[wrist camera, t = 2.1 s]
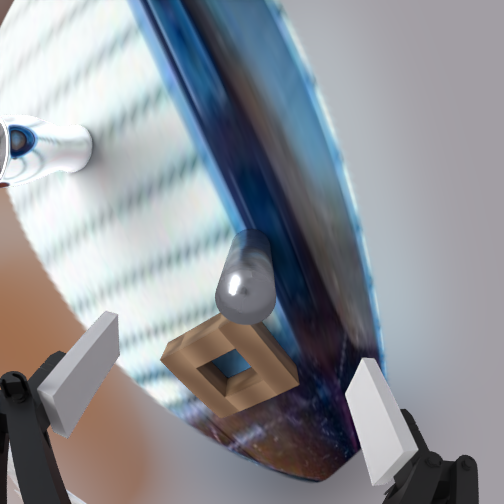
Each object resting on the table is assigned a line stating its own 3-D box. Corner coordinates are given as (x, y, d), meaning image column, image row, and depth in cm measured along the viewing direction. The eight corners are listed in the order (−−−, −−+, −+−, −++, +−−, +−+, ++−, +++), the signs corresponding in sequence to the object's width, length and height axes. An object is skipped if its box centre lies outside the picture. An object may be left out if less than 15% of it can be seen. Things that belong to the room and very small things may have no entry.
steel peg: (256, 221, 33) (253, 258, 21) (277, 253, 34) (287, 306, 22) (223, 242, 34) (203, 290, 21) (245, 273, 35) (238, 334, 22)
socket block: (243, 298, 36) (241, 314, 32) (296, 365, 39) (299, 384, 35) (168, 342, 38) (160, 360, 34) (223, 399, 41) (220, 418, 37)
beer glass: (105, 136, 30) (20, 131, 16) (80, 185, 32) (-5, 206, 18) (69, 113, 29) (-15, 102, 15) (47, 160, 31) (-37, 171, 17)
